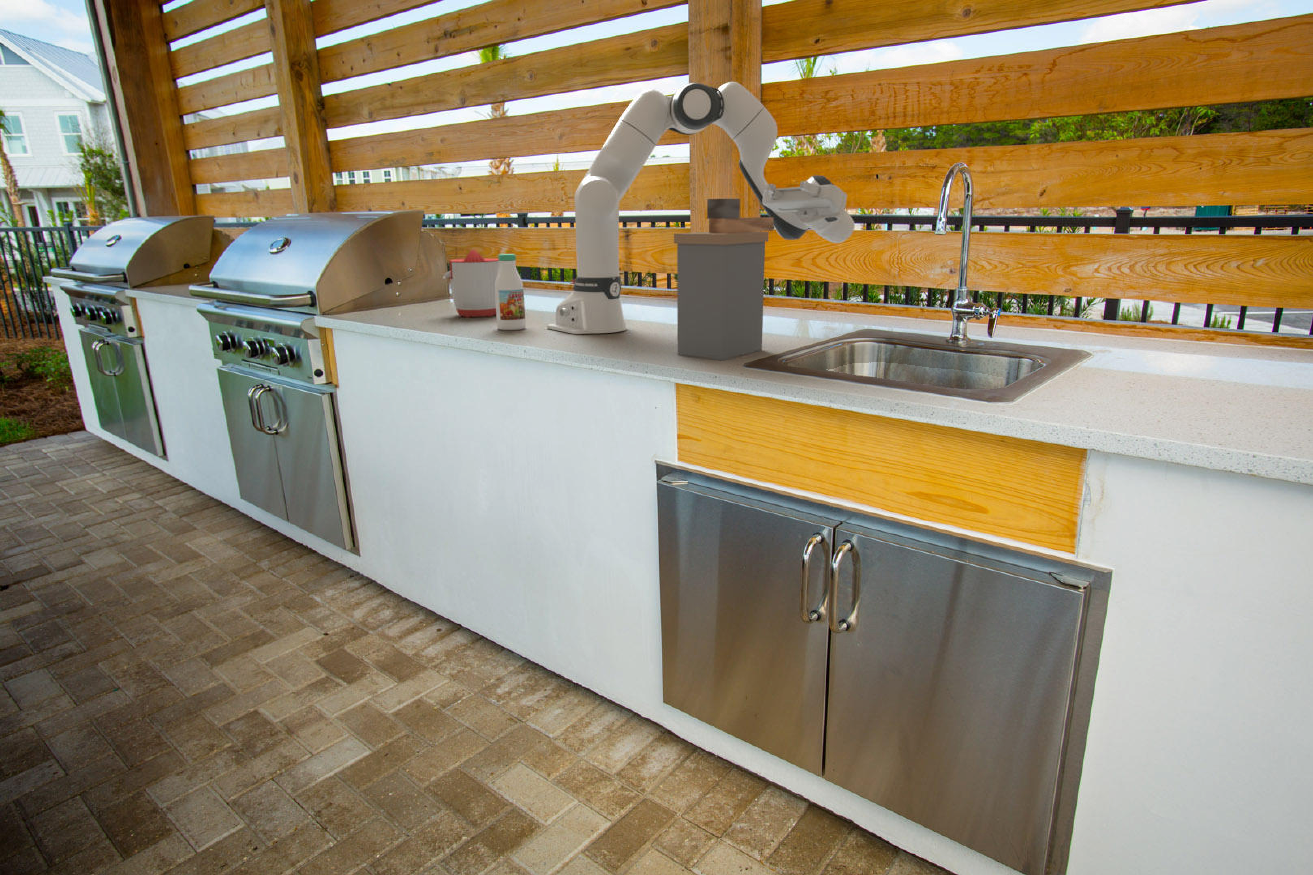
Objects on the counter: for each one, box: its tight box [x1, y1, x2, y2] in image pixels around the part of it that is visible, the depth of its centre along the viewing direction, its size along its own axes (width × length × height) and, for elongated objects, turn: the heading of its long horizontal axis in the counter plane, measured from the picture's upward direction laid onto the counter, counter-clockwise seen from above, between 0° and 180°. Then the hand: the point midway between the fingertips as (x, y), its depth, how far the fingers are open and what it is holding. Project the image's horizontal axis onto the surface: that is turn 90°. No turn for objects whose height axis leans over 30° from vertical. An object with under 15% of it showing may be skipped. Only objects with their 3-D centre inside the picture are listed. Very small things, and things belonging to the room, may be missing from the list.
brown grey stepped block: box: [706, 198, 774, 233], centre depth 170 cm, size 5×20×7 cm, turn 141°
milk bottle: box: [495, 253, 527, 331], centre depth 208 cm, size 8×8×20 cm
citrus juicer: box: [442, 249, 500, 319], centre depth 235 cm, size 16×17×20 cm
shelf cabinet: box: [673, 231, 770, 361], centre depth 169 cm, size 13×17×26 cm
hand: (785, 185), depth 181 cm, fingers open, 8 cm apart
